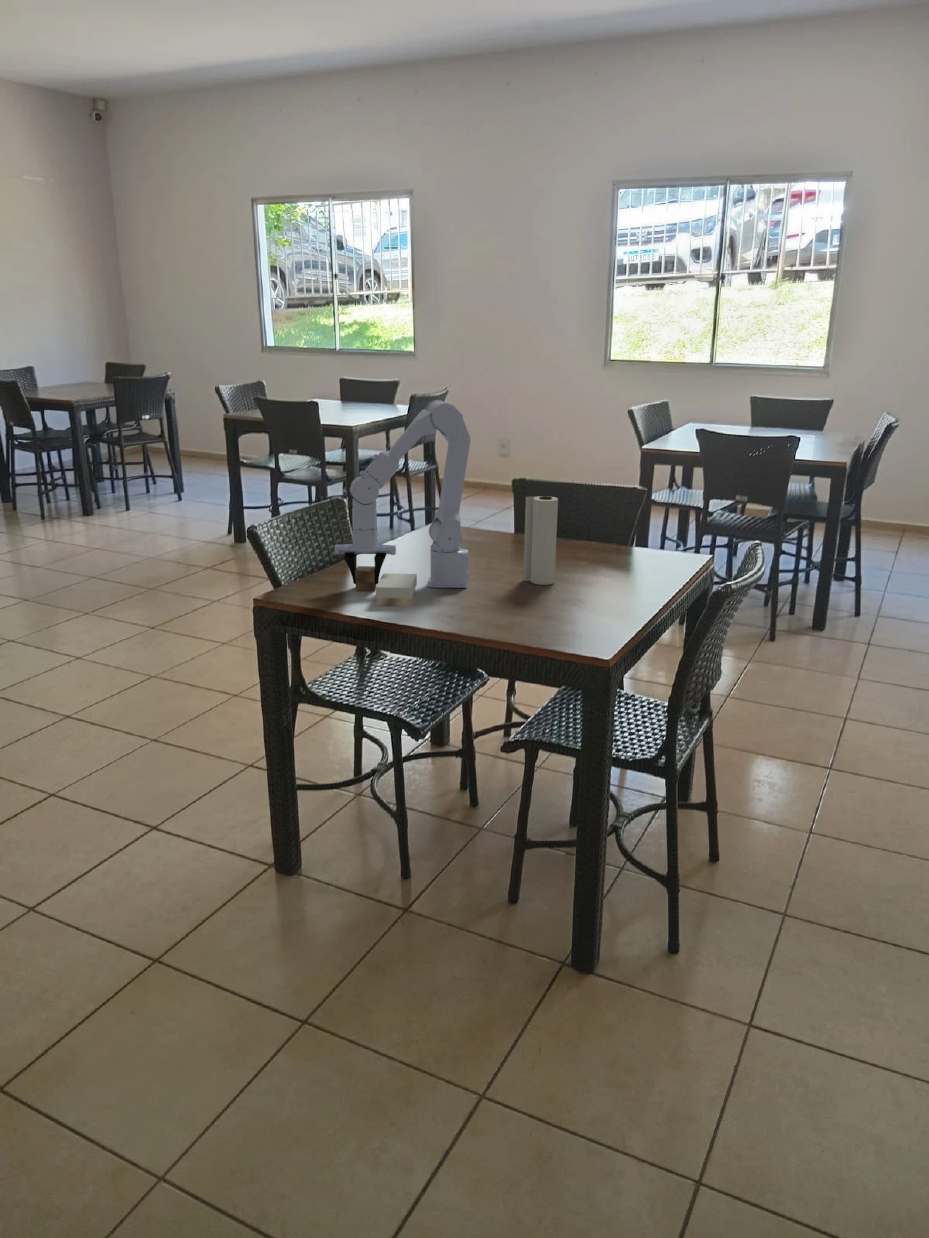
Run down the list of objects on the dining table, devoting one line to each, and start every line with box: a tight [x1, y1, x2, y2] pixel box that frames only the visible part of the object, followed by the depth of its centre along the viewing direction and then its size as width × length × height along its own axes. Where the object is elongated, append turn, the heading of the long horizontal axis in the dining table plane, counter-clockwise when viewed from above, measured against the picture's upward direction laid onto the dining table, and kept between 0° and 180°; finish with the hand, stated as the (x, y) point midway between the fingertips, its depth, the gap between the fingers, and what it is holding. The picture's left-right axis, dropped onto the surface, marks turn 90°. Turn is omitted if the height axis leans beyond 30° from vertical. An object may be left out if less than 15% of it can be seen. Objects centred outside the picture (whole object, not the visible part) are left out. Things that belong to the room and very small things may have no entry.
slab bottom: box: [376, 589, 416, 607], centre depth 216 cm, size 8×12×2 cm, turn 179°
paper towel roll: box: [522, 495, 559, 586], centre depth 227 cm, size 7×6×21 cm
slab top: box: [375, 572, 418, 599], centre depth 215 cm, size 8×12×2 cm, turn 177°
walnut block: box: [355, 565, 377, 592], centre depth 223 cm, size 4×4×5 cm
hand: (366, 583), depth 223 cm, fingers closed on walnut block, 4 cm apart
